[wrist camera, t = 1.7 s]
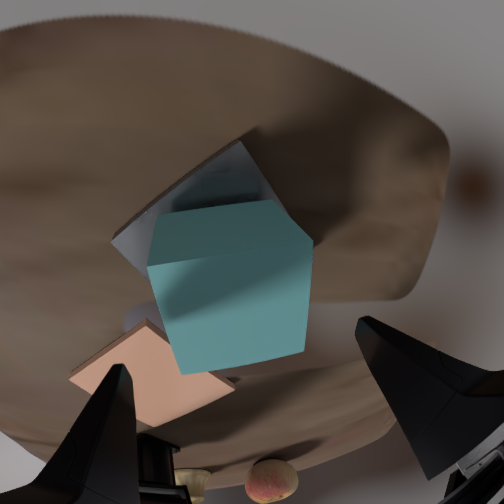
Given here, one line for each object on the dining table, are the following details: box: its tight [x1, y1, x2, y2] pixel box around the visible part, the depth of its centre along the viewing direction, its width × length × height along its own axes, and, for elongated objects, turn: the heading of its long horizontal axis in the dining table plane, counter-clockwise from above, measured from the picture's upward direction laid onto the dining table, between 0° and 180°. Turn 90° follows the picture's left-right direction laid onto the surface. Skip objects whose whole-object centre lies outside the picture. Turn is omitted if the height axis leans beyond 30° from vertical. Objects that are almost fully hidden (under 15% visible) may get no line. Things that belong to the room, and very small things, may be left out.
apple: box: [245, 459, 298, 503], centre depth 34 cm, size 9×9×8 cm
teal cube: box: [147, 200, 313, 375], centre depth 13 cm, size 6×6×5 cm
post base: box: [111, 139, 316, 283], centre depth 15 cm, size 9×9×6 cm
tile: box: [69, 318, 235, 427], centre depth 21 cm, size 11×11×1 cm
